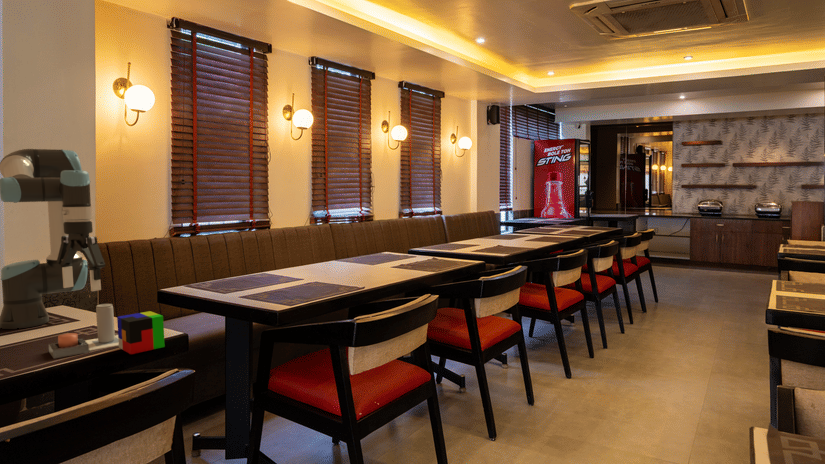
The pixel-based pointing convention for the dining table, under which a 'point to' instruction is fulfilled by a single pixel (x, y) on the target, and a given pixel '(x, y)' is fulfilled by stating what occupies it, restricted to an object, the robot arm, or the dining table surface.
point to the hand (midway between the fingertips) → (82, 288)
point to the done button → (68, 340)
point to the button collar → (68, 349)
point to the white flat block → (101, 344)
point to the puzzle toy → (140, 332)
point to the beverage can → (105, 323)
